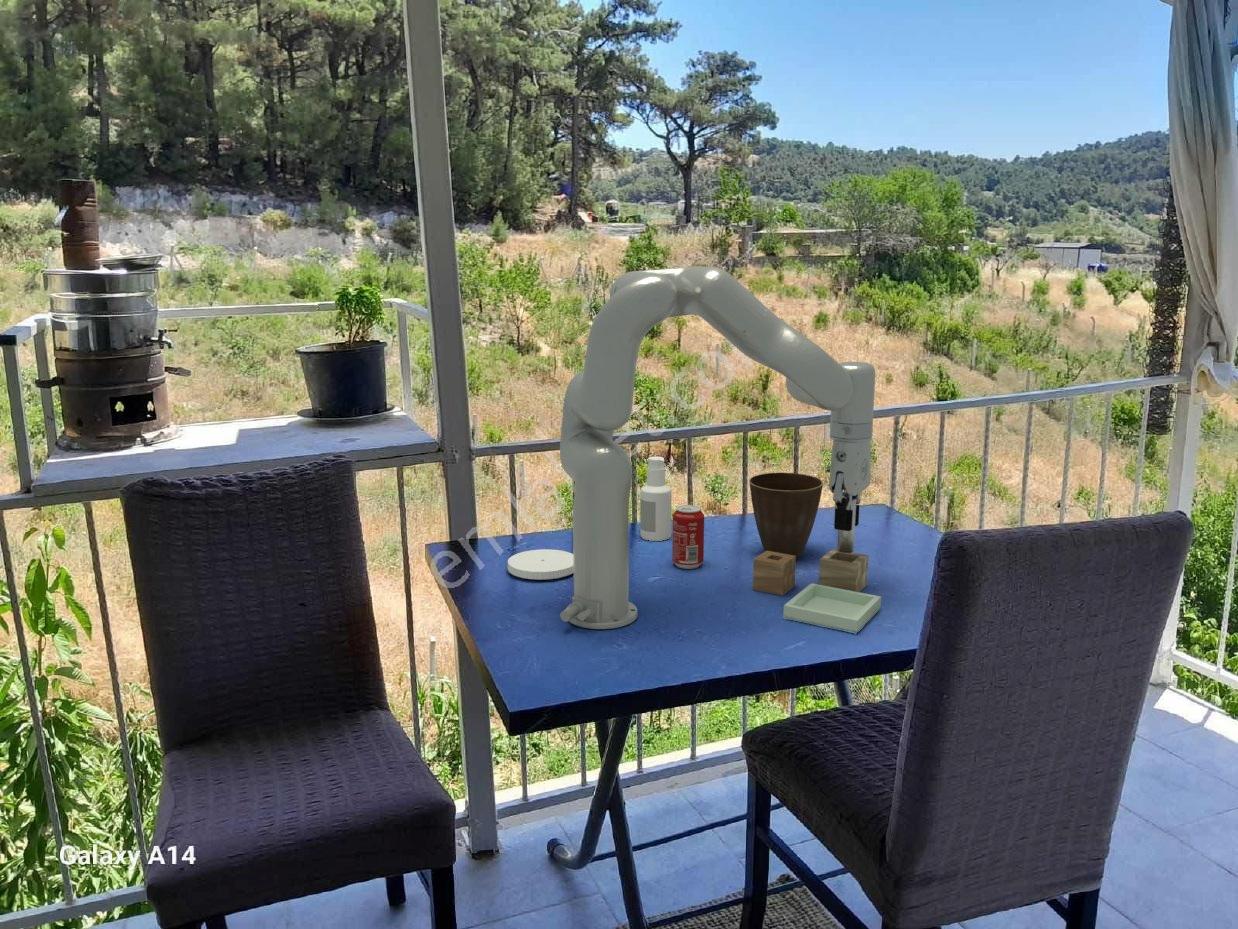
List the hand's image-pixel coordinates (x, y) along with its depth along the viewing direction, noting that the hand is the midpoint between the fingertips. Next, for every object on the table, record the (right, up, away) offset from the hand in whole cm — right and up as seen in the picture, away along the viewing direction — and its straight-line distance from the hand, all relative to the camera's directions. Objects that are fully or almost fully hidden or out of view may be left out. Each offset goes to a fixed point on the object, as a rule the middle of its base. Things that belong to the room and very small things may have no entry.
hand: (846, 526), depth 177 cm
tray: (-5, -15, -10) cm, 19 cm away
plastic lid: (-58, -10, +13) cm, 60 cm away
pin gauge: (0, -5, +1) cm, 5 cm away
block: (-13, -12, +3) cm, 18 cm away
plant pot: (-8, -8, +21) cm, 24 cm away
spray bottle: (-34, -5, +34) cm, 48 cm away
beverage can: (-28, -9, +15) cm, 34 cm away
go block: (0, -12, +3) cm, 12 cm away
